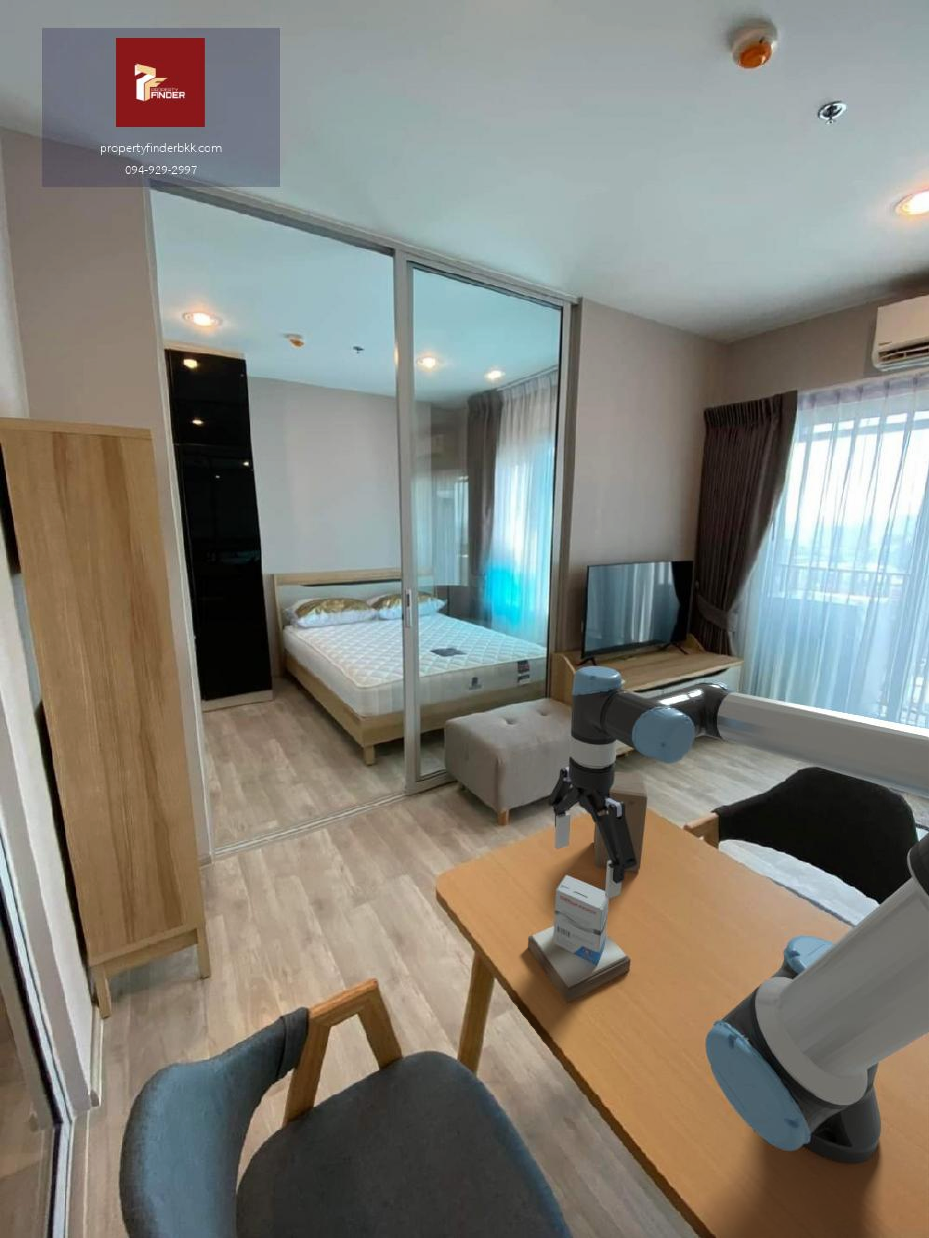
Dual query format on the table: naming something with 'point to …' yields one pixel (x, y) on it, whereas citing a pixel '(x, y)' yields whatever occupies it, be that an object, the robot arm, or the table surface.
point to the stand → (576, 965)
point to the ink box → (580, 919)
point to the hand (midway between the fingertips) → (585, 869)
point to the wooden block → (626, 815)
